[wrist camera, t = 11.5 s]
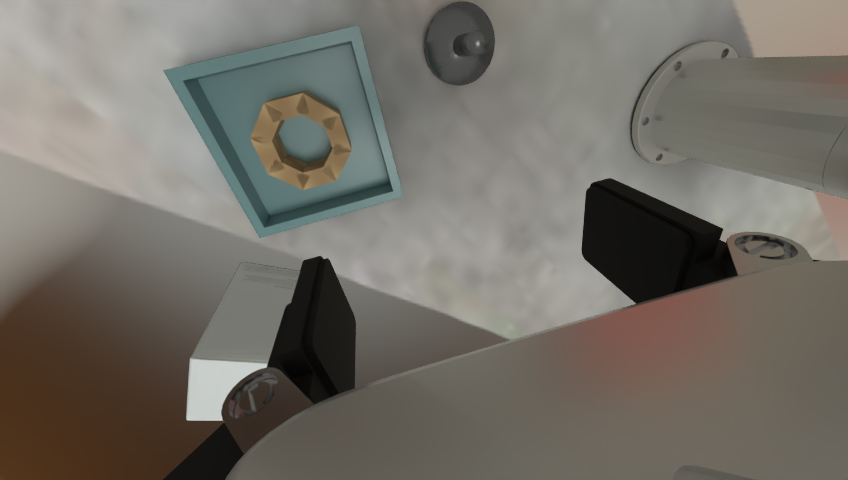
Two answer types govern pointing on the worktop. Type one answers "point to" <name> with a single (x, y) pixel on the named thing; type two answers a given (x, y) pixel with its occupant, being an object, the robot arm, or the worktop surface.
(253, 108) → the tray
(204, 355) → the supplement box
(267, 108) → the ring
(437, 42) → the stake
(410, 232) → the worktop surface
